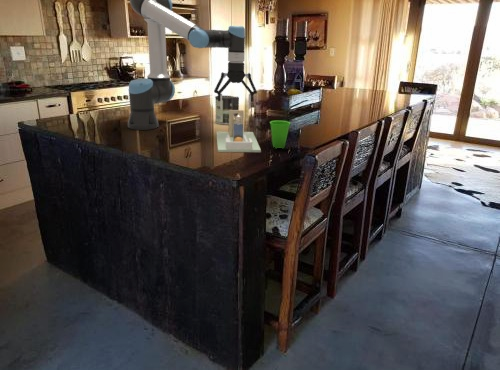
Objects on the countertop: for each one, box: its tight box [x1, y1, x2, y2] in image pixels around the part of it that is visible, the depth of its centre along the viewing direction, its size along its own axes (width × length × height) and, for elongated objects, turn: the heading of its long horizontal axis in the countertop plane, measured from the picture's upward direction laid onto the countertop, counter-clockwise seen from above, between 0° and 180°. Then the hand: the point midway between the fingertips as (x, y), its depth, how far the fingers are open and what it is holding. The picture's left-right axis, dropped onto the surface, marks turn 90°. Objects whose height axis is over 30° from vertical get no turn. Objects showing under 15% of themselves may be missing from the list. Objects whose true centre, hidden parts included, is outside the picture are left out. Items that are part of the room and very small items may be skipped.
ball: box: [234, 137, 243, 142], centre depth 169 cm, size 4×4×4 cm
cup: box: [269, 120, 291, 149], centre depth 172 cm, size 9×9×11 cm
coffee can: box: [214, 95, 234, 125], centre depth 216 cm, size 10×10×14 cm
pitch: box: [215, 109, 262, 153], centre depth 177 cm, size 18×32×13 cm, turn 6°
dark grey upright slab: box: [232, 96, 244, 142], centre depth 180 cm, size 4×25×16 cm, turn 6°
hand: (235, 108), depth 189 cm, fingers open, 13 cm apart
